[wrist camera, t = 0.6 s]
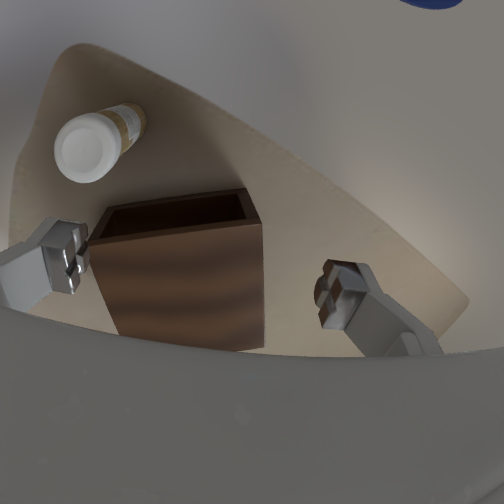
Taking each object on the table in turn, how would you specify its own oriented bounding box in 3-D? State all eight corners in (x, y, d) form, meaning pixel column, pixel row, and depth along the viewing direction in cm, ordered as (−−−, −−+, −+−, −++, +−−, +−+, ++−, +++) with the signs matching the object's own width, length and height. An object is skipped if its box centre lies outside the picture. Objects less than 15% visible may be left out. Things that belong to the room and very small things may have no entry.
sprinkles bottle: (114, 150, 29) (67, 195, 17) (100, 112, 26) (42, 135, 15) (153, 134, 29) (125, 169, 17) (140, 94, 26) (100, 103, 15)
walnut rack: (107, 206, 32) (83, 246, 24) (246, 187, 34) (262, 223, 26) (139, 312, 40) (132, 362, 33) (252, 298, 42) (265, 347, 35)
